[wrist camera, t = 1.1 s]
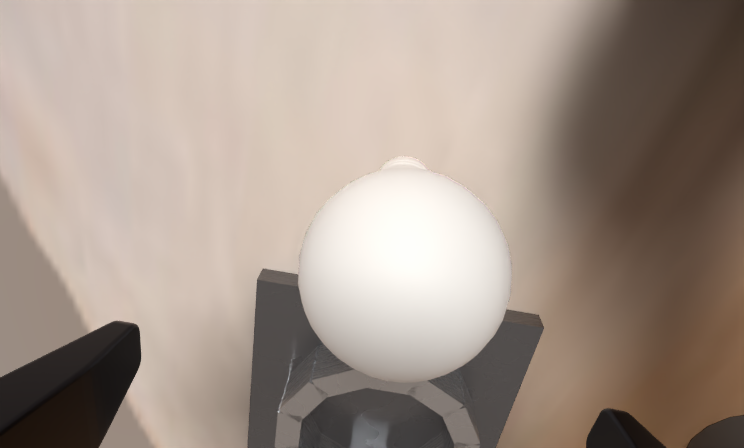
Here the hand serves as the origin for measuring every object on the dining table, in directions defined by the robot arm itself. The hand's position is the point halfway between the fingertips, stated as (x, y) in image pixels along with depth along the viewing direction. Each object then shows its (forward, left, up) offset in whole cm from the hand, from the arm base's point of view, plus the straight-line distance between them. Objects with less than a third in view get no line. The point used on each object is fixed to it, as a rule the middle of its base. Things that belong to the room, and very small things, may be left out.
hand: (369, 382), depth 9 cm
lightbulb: (-1, +1, -13) cm, 13 cm away
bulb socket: (-2, +14, -13) cm, 19 cm away
